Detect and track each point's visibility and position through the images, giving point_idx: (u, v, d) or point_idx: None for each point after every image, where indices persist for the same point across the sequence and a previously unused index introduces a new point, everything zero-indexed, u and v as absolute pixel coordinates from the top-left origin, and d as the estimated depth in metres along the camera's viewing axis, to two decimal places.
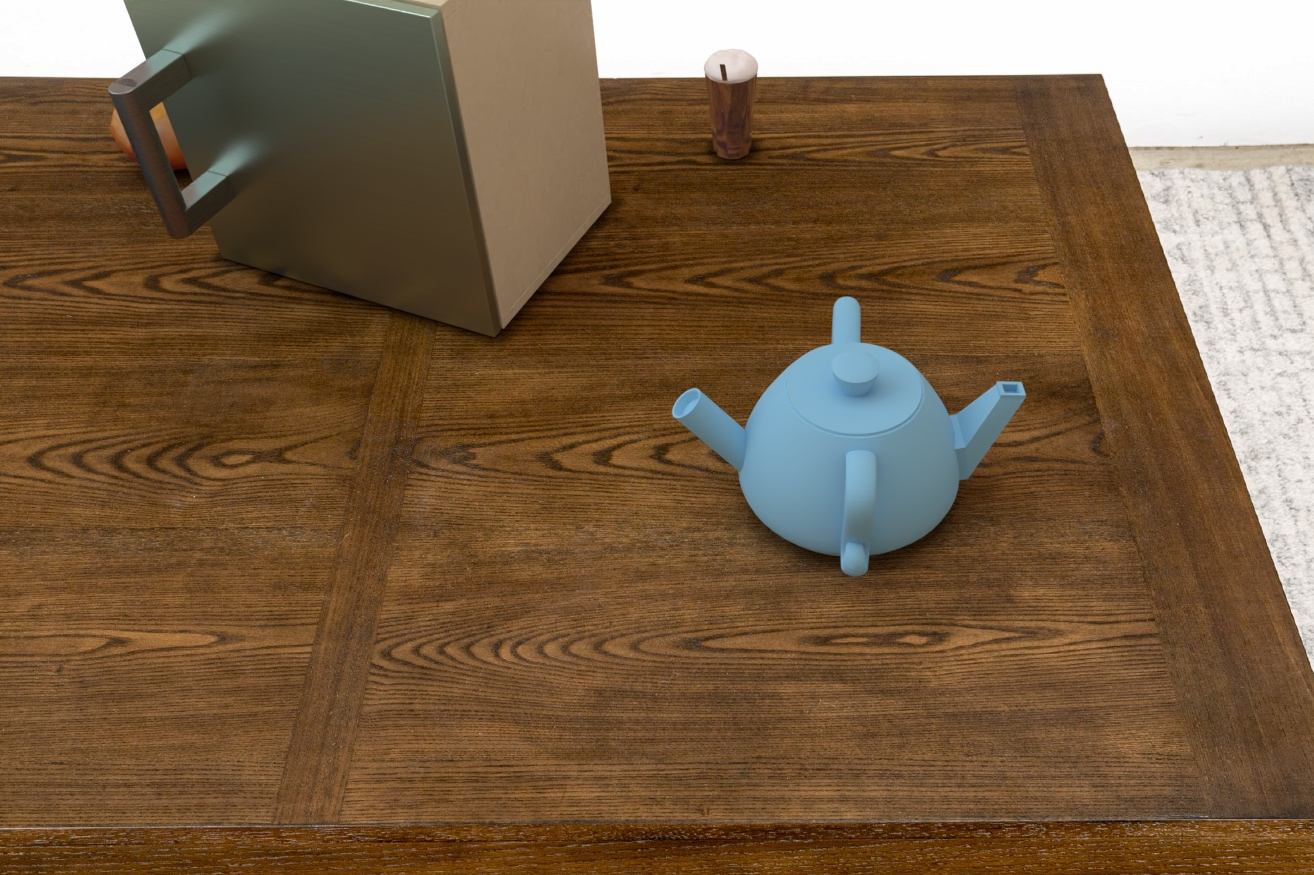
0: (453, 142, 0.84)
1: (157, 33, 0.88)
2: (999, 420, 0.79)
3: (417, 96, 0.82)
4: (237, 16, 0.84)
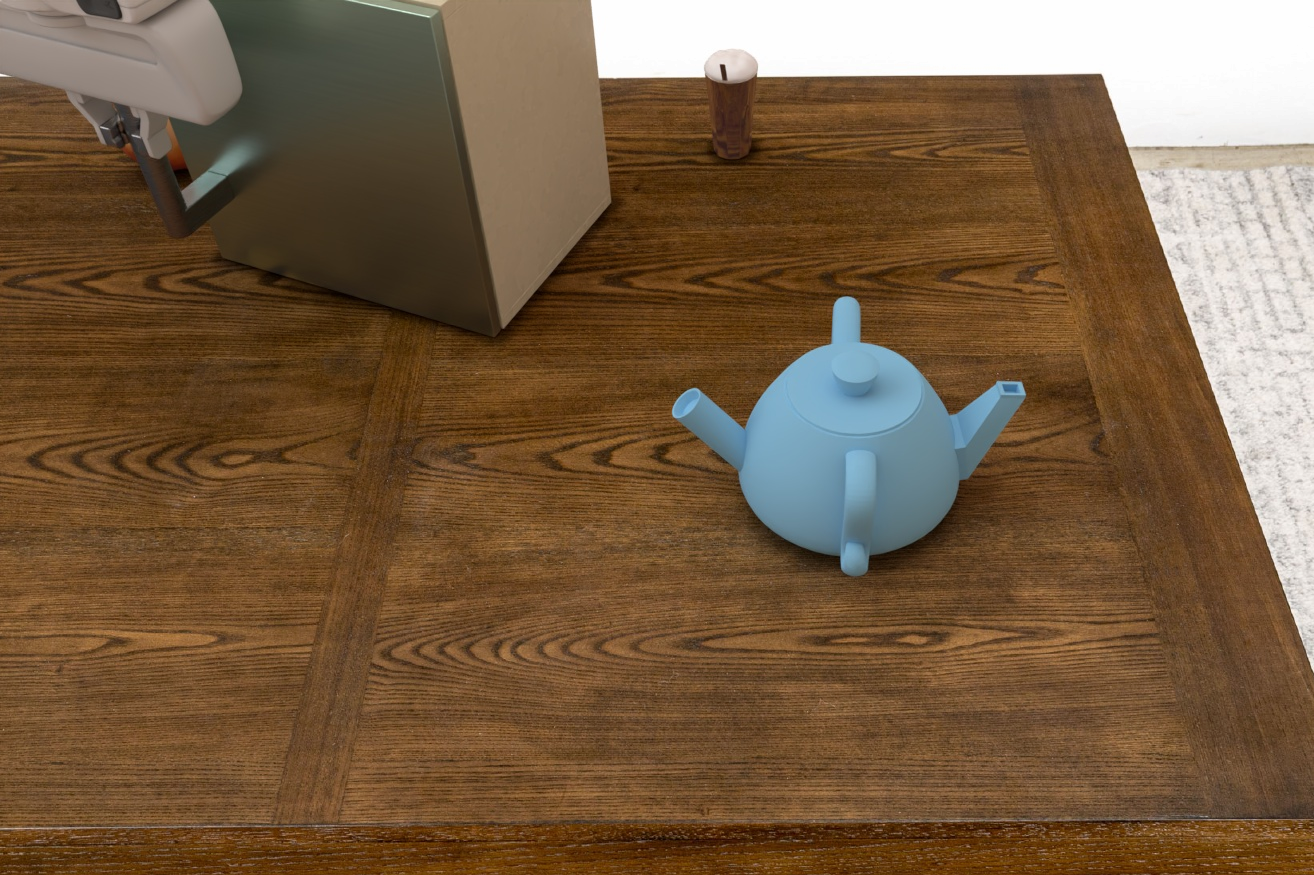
0: (453, 142, 0.84)
1: None
2: (999, 420, 0.79)
3: (417, 95, 0.82)
4: (237, 16, 0.84)
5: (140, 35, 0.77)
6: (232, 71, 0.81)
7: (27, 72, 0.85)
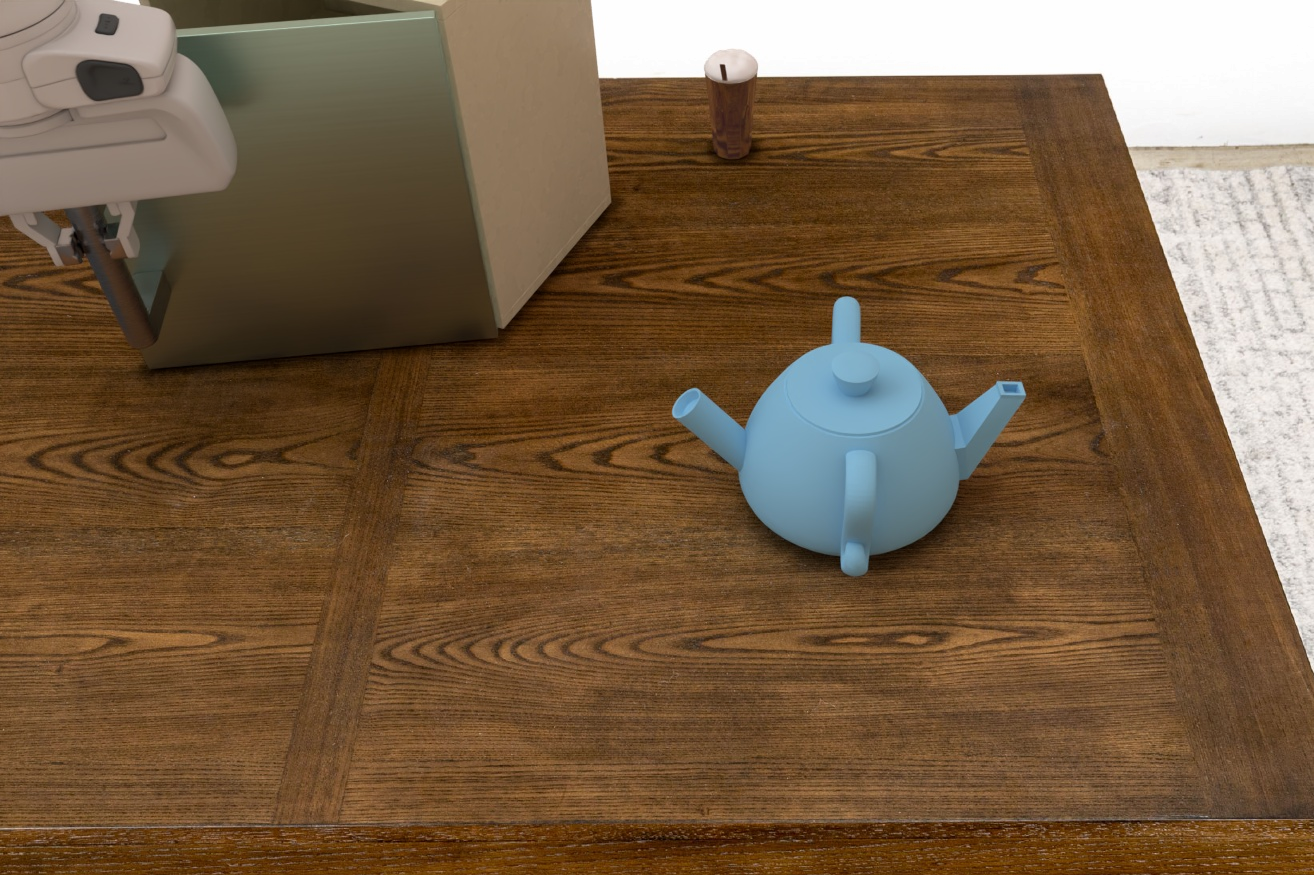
0: (456, 143, 0.84)
1: None
2: (999, 420, 0.79)
3: (415, 106, 0.81)
4: None
5: (159, 107, 0.71)
6: (228, 127, 0.77)
7: None
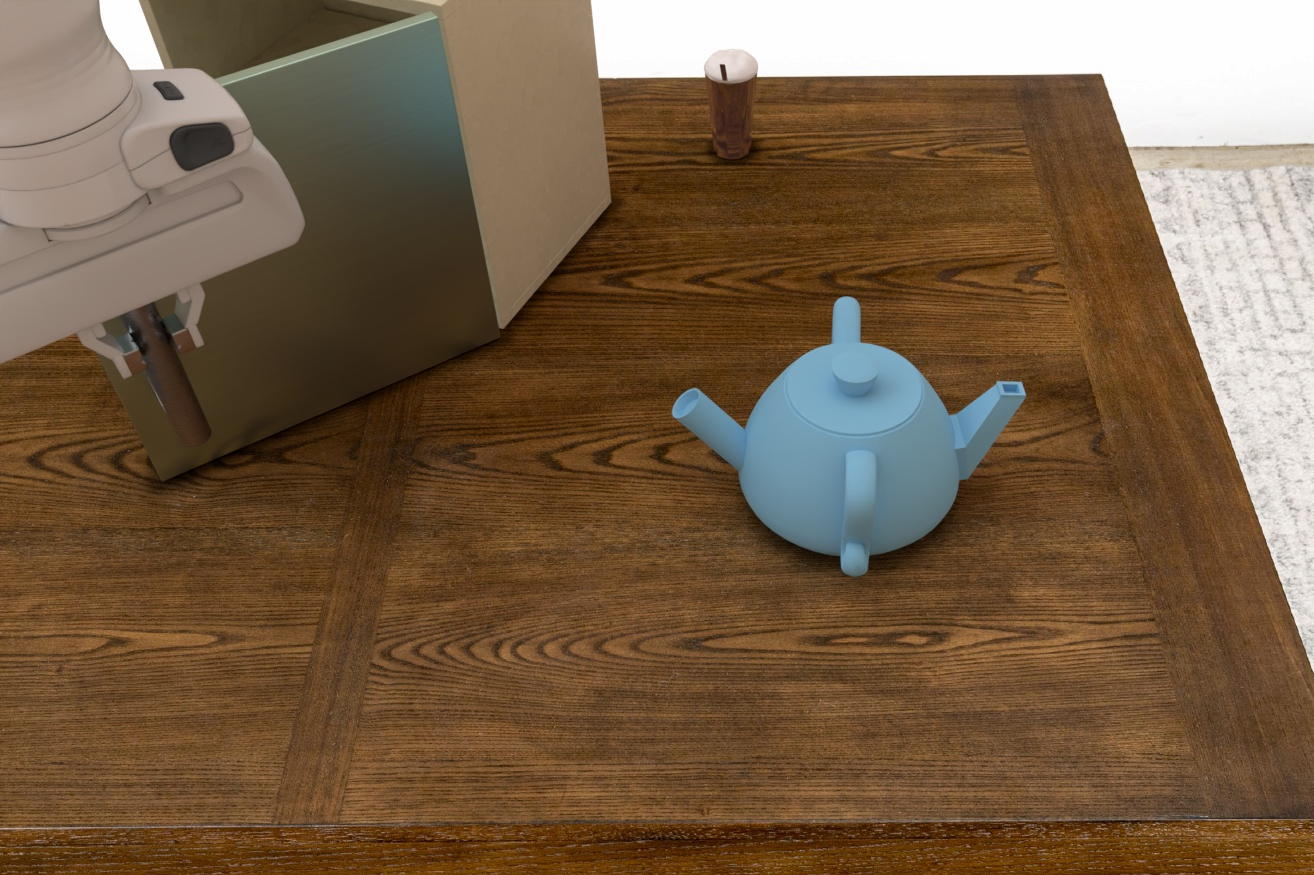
0: (460, 143, 0.84)
1: None
2: (999, 420, 0.79)
3: (422, 113, 0.81)
4: None
5: (244, 164, 0.67)
6: None
7: (34, 337, 0.67)
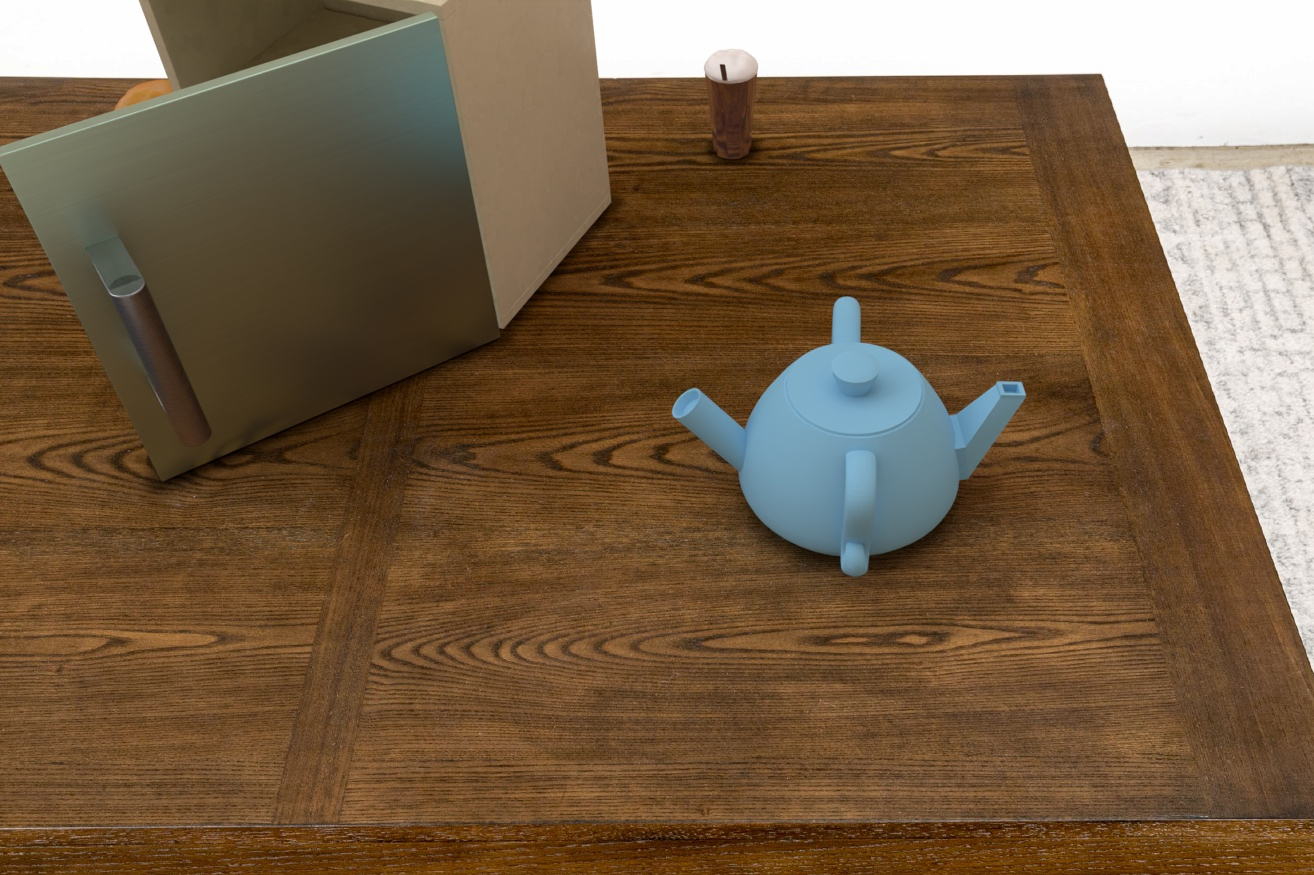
0: (460, 143, 0.84)
1: (78, 229, 0.73)
2: (999, 420, 0.79)
3: (422, 113, 0.81)
4: (200, 142, 0.74)
5: None
6: None
7: None
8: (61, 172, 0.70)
